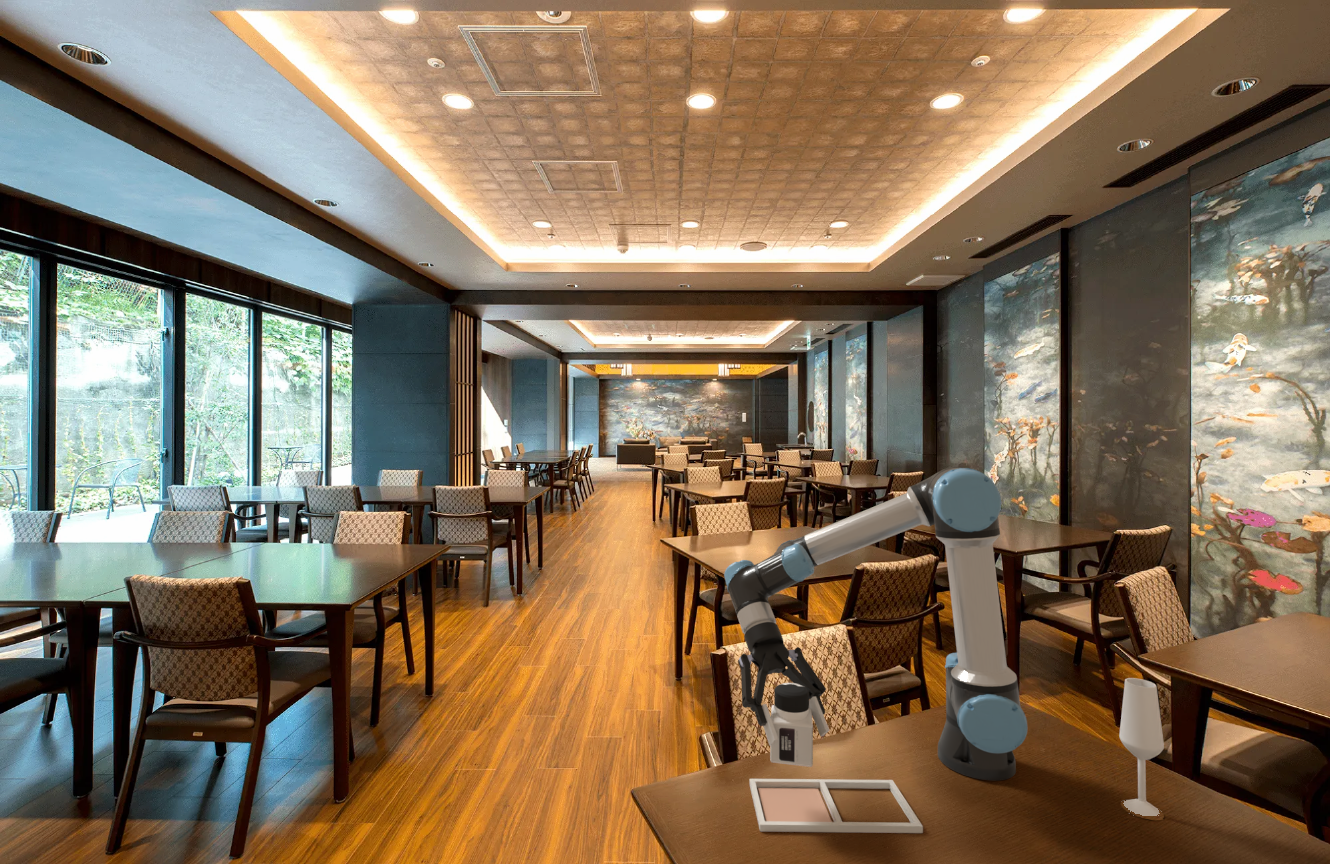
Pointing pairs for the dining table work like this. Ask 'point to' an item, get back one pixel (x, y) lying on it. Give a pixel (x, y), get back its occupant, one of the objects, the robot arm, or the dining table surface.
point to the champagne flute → (1141, 735)
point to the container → (792, 726)
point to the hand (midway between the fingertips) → (799, 737)
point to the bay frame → (819, 806)
